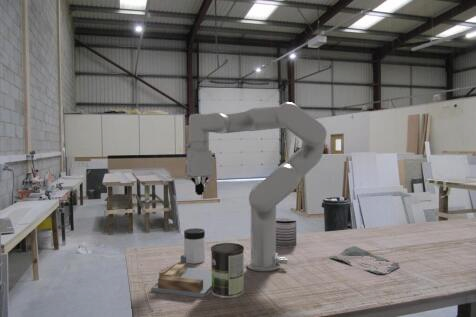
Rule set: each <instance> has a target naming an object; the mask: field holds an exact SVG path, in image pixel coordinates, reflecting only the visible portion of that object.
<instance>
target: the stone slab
mask: <svg viewBox="0 0 476 317" xmlns="http://www.w3.org/2000/svg"><path fill="white" fill-rule="evenodd" d="M338 255H343V256H362V257H363V256H370V257H373V258H375V259H376V260H375V261H386V262H391V261H390V260H389V259H387V258H384V257H382V256H377V255H374V254H371V253H370V252H369V251H367V250H365V249H363V248H360V247H357V246H356V245H354V246H351V247H348V248H345V249H344V250H343V251H341V253H338ZM328 258H329V259H335V260H339V261H342V262H344V263H347V264H348V265H350V263H351V262H349V261H345V260H346V259H344V258H341V259H340V258H338V257H337V256H336V255H332V256H331V255H330V256H328ZM343 259H344V260H343ZM392 262H393V261H392ZM360 263H361V264H365V265H369V264H370V263H367V262H360ZM361 264H360V265H361ZM379 264H381V263H379ZM399 264H400V263H398V262H393V264H391V266H392V267H387V268H390V269H388V270H387V272H389V273H387V272H385V273H384V272H383V271H380V270H378V267H377V266H374V268H376V267H377V268H376V269H375V271H371V270H372V269H367V270H366V269H365V272H366V271H367V272H372V273H374V274H377V275H378V274H381V275H388V274H390V273H391V272H393V271H394V270H396V269H397V268H399V267H400V265H399ZM371 265H372V264H370V265H369V266H368V267H370V266H371ZM350 266H351V265H350ZM393 266H394V267H393ZM387 268H386V269H387ZM382 272H383V273H382Z"/></svg>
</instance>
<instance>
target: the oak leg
mask: <svg viewBox="0 0 476 317" xmlns="http://www.w3.org/2000/svg"><path fill="white" fill-rule="evenodd" d="M186 268H187V263H181V262H178V263H176V264H175V265H174V266H172V267H171V269H170V270H169V271H167V272H166V273H165V274H164V275H163V276H170V277H181V276H182V275H183V274H184V273H185V272H186Z"/></svg>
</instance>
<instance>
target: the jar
mask: <svg viewBox="0 0 476 317" xmlns="http://www.w3.org/2000/svg"><path fill="white" fill-rule="evenodd" d="M205 235H206V234H205V229H204V228H196V227H195V228H194V227H193V228H188V229H184V230H183V249H184V251H183V255H186V264H192V265H193V264H194V265H195V264H200V263H204V262H205V259H206V258H205V256H206V254H205V249H206V247H205V244H206V243H205Z"/></svg>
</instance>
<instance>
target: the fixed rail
mask: <svg viewBox="0 0 476 317" xmlns="http://www.w3.org/2000/svg"><path fill="white" fill-rule="evenodd" d="M157 283H158V288H160V289H169V290H178V291H187V292H196V293H200V292H201V291H202V290H203V280H199V279H190V278H180V277H170V276H161V277H160V278H159V277H158V278H157Z"/></svg>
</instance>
